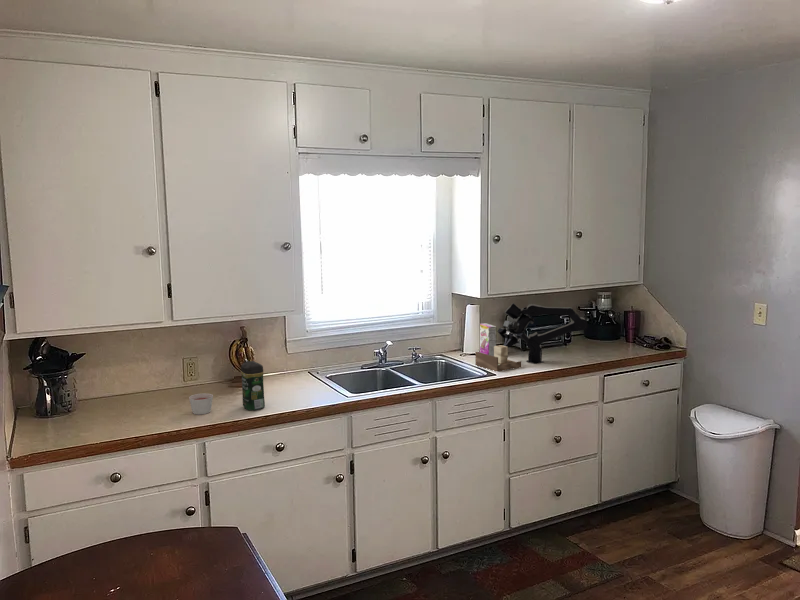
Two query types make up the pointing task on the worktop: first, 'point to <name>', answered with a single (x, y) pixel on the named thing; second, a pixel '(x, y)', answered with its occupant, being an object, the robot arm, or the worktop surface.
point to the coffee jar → (252, 385)
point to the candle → (201, 403)
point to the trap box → (494, 362)
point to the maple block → (501, 353)
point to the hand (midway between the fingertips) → (504, 348)
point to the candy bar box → (487, 339)
